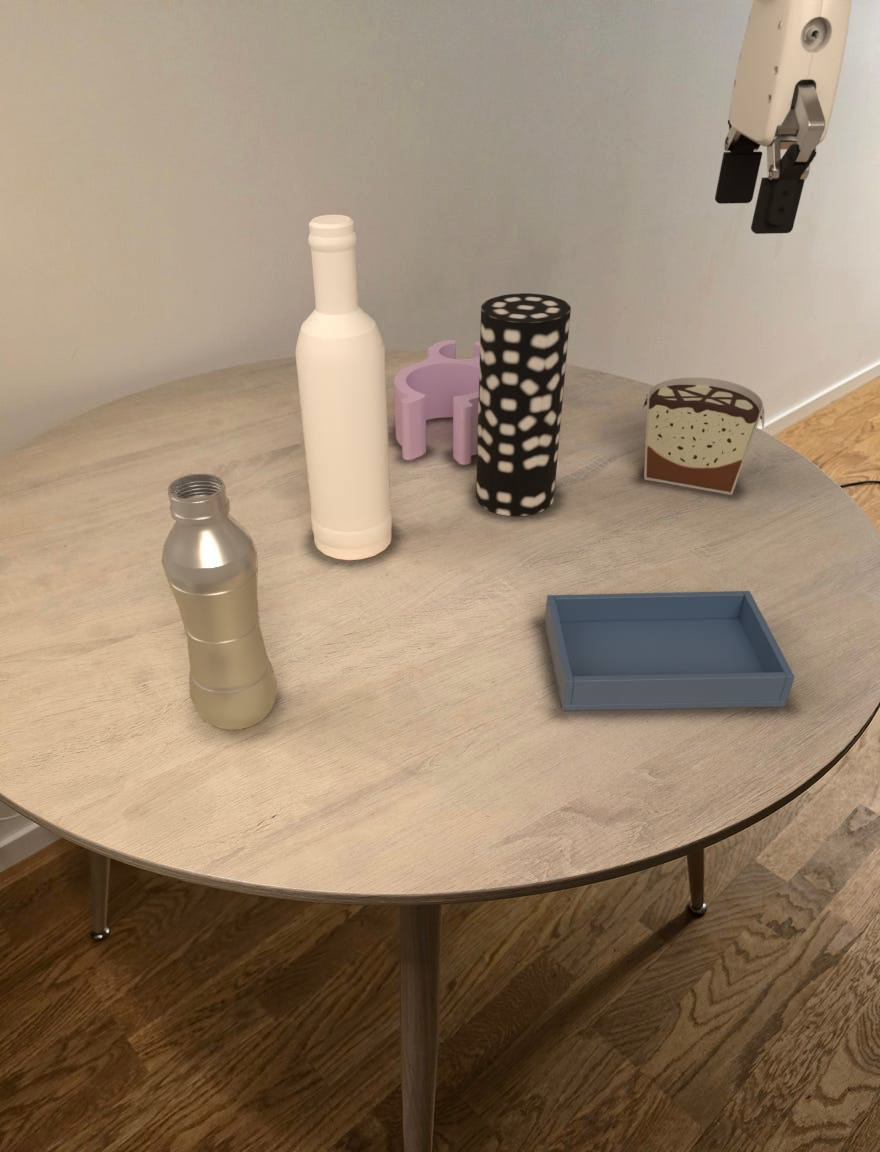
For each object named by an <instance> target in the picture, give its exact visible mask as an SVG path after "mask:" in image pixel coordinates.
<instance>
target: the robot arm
mask: <svg viewBox="0 0 880 1152" xmlns="http://www.w3.org/2000/svg"><path fill="white" fill-rule="evenodd" d="M751 5H752V6H751V9H750V11H749V16H748V20H747V24H746V28H745V32H744V36H743V40H742V45H741V48H740V54H739V57H738V62H737V67H736V71H735V77H734V81H733V86H732V91H731V99H730V104H729V113H728V119H727V124H728V133H727V134H726V136H725V139H724V143H723V149H724V151H723V154H722V160H721V164H720V170H719V175H718V180H717V185H716V190H715V194H714V195H715V196H714V201H715V202H716V203H717V204H720V205H724V204H750V203H751V202H752V201H753V198H754V194H755V189H756V185H757V180H758V176H759V170H760V166H761V161H762V157H763V151H760V150H759V149H760V147H761V146H762V147H766V162H767V163H766V165H767V177H761V180H760V184H759V190H758V194H757V197H756V198H757V199H756V203H755V207H754V213H753V217H752V222H751V225H750V230H751V232H752V233H754V234H756V235H760V234H761V235H763V234H766V235H767V234H768V235H769V234H789V233H791V232H792V231H793V229H794V225H795V221H796V217H797V214H798V209H799V205H800V201H801V198H802V193H803V189H804V184H805V181H806V180H807V178H808V177H809V174H810V171H811V170H810V168H811V164H812V163H813V161H814V159H815V158H816V156H817V147H818V146H819V145H820V144H821V143H822V142H823V141H824V140H825V138H826V136H827V133H828V130H829V127H830V122H831V117H832V112H833V108H834V103H835V100H836V94H837V89H838V86H839V80H840V76H841V71H842V66H843V61H844V55H845V50H846V43H847V37H848V31H849V25H850V17H851V10H852V9H851V8H852V0H753V1H752V4H751ZM758 150H759V151H758ZM781 150H786V151H785V152H784V154H783V156H782V154H781ZM781 156H782V157H781Z"/></svg>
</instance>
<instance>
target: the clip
mask: <svg viewBox="0 0 880 1152" xmlns="http://www.w3.org/2000/svg"><path fill="white" fill-rule="evenodd" d="M479 367H480V340H479V341H476V342H475V343H474V357H472V358H462V359H461V358H460V359H459V358H457V341H456V340H455V339H447V340H442V341H439V342H436V343H434V344H432V345H431V346H430V347H429V348H428V349H427V358H426V359H425V360H422V361H420V362H417V363H413V364H411V365H408V366H406V367H404V368H402V369H401V370H400V371H398V372H397V373H396V375H395V376H394V378H393V388H394V389H393V390H394V393H393V394H394V419H395V420H394V423H395V439H396V442H397V443H398V444H399V445H400V446H401V448H402V449H401V450H402V451H401V452H402V453H401V454H402V459H403V460H405V461H413V460H414V459H418V458H420V457H422V456H423V455H425V454H426V453H427V421H430V420H433V419H434V420H435V419H441V418H443V419H444V418H452V457H453V458H452V459H454V460H455V461H456V462H457V463H458V464H459V465H461V466H466V465H467V466H468V465H470V464H471V463H472V456H475V455H476V456H477V439H478V403H479Z"/></svg>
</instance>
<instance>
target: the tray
mask: <svg viewBox="0 0 880 1152" xmlns="http://www.w3.org/2000/svg"><path fill="white" fill-rule="evenodd" d="M545 604H546V605H545V616H544V627H545V632H546V638H547V642H548V647H549V651H550V657H551V662H552V666H553V671H554V676H555V680H556V685H557V691H558V694H559V700H560V705H561V710H562V712H569V711H570V712H571V711H572V712H573V711H575V712H576V711H622V710H623V711H627V710H675V709H676V710H678V709H680V710H681V709H727V708H728V709H729V708H731V709H732V708H733V709H734V708H736V709H737V708H774V707H775V708H783V707H786V704H787V702H788V699H789V696H790V693H791V689H792V686H793V683H794V680H795V678H796V677H795V674H794V673H793V671H792V668H791V667H790V665H789V662H788V661H787V659H786V657H785V655H784V653H783V652H782V650H781V648H780V646H779V644H778V642H777V641H776V638H775V636H774V635H773V632H772V631H771V629H770V627H769V624H768V623H767V621H766V619H765V617H764V615H763V614H762V611H761V610H760V608H759V606H758V604H757V602H756V600H755V598H754V597H753V594H752V592H751V591H750V590H731V591H729V590H727V591H687V592H686V591H685V592H683V591H678V592H639V593H638V592H636V593H635V592H634V593H631V592H630V593H591V594H589V593H588V594H587V593H586V594H583V593H581V594H547V596H546V603H545Z"/></svg>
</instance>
